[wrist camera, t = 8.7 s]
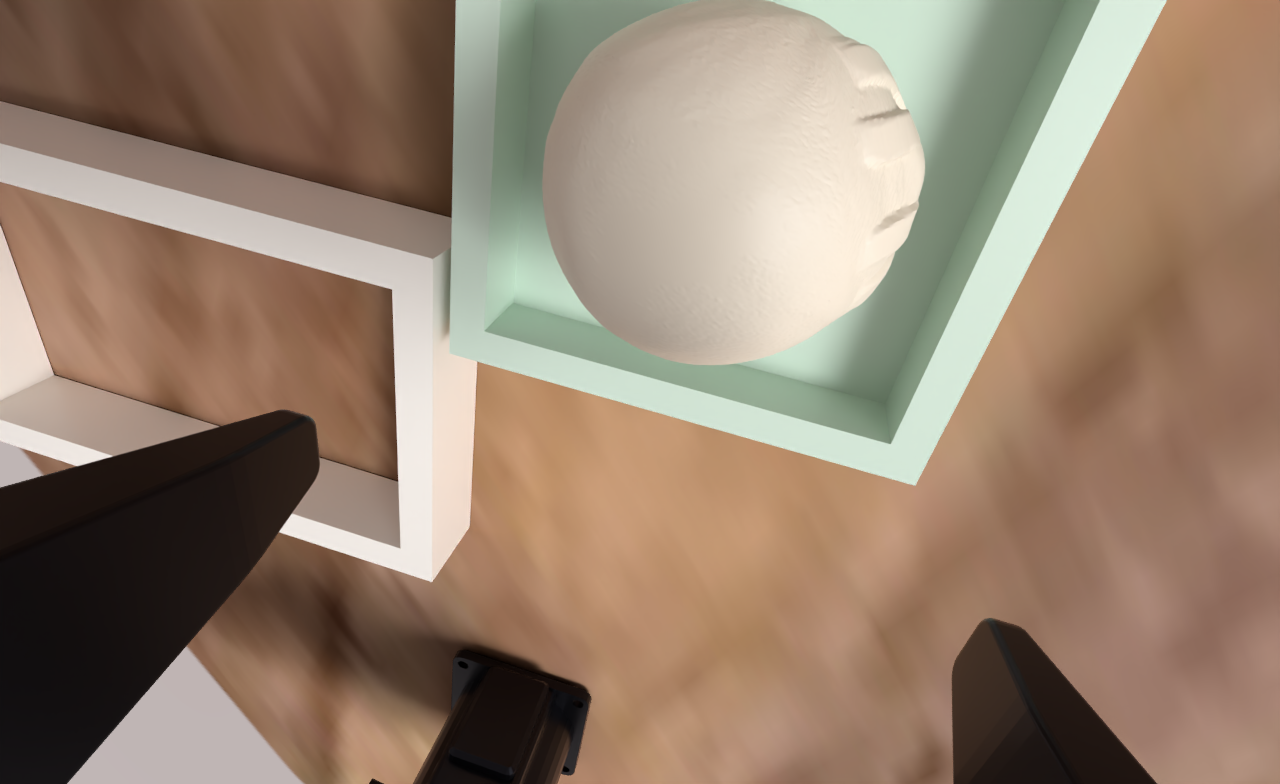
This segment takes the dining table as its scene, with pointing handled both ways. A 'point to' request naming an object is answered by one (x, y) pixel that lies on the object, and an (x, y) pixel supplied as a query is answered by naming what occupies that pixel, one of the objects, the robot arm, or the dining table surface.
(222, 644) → the dining table surface
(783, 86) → the steamed bun
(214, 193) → the shallow gray planter box
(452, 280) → the tray
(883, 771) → the dining table surface
